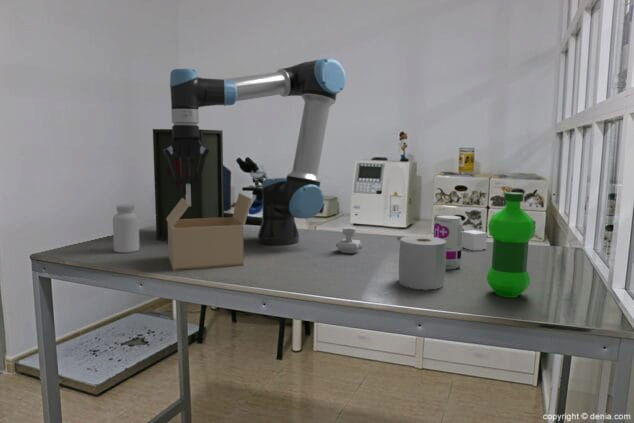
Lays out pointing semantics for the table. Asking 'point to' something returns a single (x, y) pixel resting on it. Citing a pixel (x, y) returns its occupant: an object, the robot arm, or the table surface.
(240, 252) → the carton
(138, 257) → the table surface
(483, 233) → the white cube
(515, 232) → the plastic bottle
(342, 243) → the stamp
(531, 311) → the table surface
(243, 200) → the flap
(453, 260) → the supplement can
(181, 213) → the flap
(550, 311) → the table surface
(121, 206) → the pill bottle
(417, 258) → the toilet paper roll
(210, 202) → the first aid box
